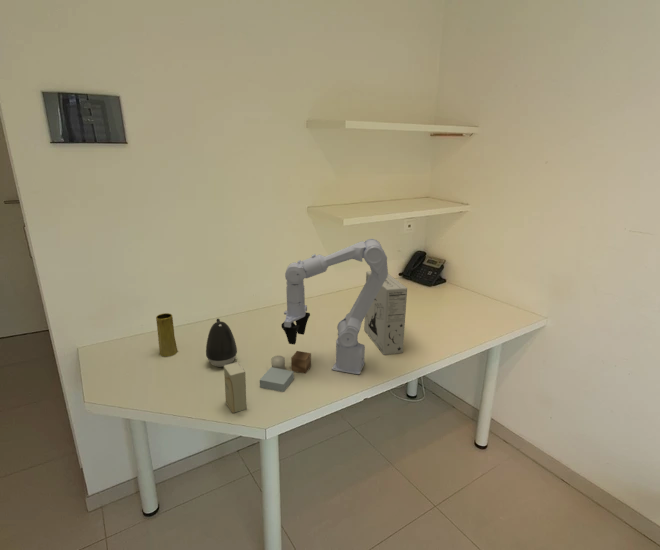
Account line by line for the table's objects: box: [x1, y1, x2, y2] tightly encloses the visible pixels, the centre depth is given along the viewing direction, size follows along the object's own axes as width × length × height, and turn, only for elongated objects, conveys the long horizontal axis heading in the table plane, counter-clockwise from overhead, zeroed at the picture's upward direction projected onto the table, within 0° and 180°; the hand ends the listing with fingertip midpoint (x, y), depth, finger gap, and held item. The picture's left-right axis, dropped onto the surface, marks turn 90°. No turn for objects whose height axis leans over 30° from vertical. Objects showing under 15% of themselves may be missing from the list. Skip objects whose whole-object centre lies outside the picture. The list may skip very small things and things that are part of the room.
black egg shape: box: [205, 318, 238, 368], centre depth 137 cm, size 10×10×15 cm
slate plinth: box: [259, 366, 295, 393], centre depth 127 cm, size 8×8×3 cm
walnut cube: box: [290, 350, 312, 374], centre depth 135 cm, size 5×5×5 cm
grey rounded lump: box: [270, 355, 286, 370], centre depth 135 cm, size 4×4×4 cm
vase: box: [155, 312, 179, 357], centre depth 144 cm, size 6×6×14 cm
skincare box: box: [223, 361, 247, 414], centre depth 114 cm, size 6×4×12 cm
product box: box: [363, 270, 408, 356], centre depth 153 cm, size 22×8×25 cm, turn 14°
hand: (296, 338), depth 134 cm, fingers open, 7 cm apart
